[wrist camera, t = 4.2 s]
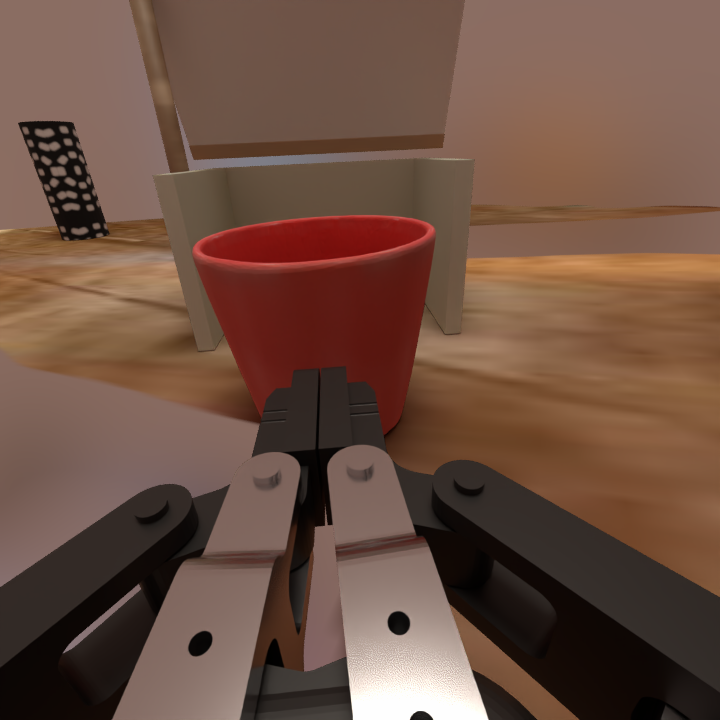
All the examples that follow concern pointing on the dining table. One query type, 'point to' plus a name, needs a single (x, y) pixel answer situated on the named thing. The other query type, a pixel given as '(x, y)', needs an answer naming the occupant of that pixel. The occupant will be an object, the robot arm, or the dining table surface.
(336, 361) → the flower pot
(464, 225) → the cold frame
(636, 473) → the dining table surface
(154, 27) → the prop stick
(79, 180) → the white-spotted black cylinder
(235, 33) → the lid
